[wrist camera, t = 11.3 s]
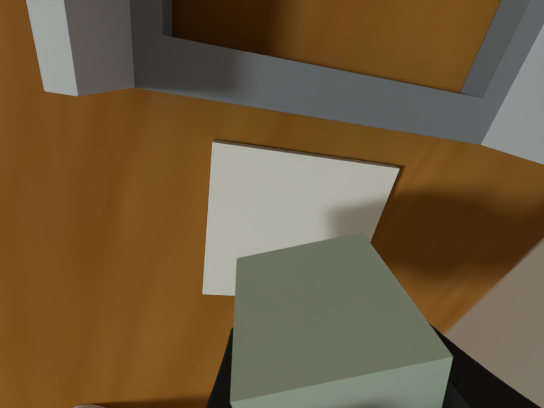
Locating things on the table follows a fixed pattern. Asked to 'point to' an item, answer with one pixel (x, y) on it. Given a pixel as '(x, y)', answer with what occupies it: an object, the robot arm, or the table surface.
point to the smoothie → (88, 406)
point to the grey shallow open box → (298, 73)
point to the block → (331, 332)
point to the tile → (284, 203)
